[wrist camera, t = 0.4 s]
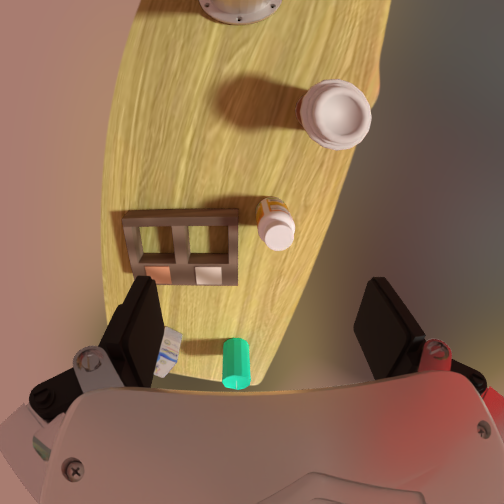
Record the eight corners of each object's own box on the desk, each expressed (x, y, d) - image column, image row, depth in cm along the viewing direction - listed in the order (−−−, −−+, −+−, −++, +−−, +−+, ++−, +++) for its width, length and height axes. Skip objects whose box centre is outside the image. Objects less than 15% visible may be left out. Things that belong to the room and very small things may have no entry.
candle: (228, 334, 60) (227, 378, 49) (253, 341, 61) (256, 384, 51) (219, 350, 62) (217, 392, 52) (242, 356, 64) (244, 397, 53)
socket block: (128, 210, 44) (120, 219, 41) (238, 208, 45) (238, 217, 42) (140, 273, 50) (134, 284, 47) (237, 274, 51) (237, 286, 48)
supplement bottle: (265, 231, 47) (271, 262, 39) (249, 206, 45) (251, 232, 37) (293, 216, 46) (305, 244, 38) (277, 190, 44) (287, 213, 35)
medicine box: (169, 350, 62) (163, 379, 55) (153, 343, 61) (145, 371, 53) (182, 333, 59) (177, 363, 52) (165, 325, 58) (157, 354, 50)
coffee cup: (343, 87, 35) (378, 83, 25) (342, 141, 40) (375, 155, 29) (286, 82, 35) (304, 73, 25) (286, 139, 40) (304, 151, 29)
